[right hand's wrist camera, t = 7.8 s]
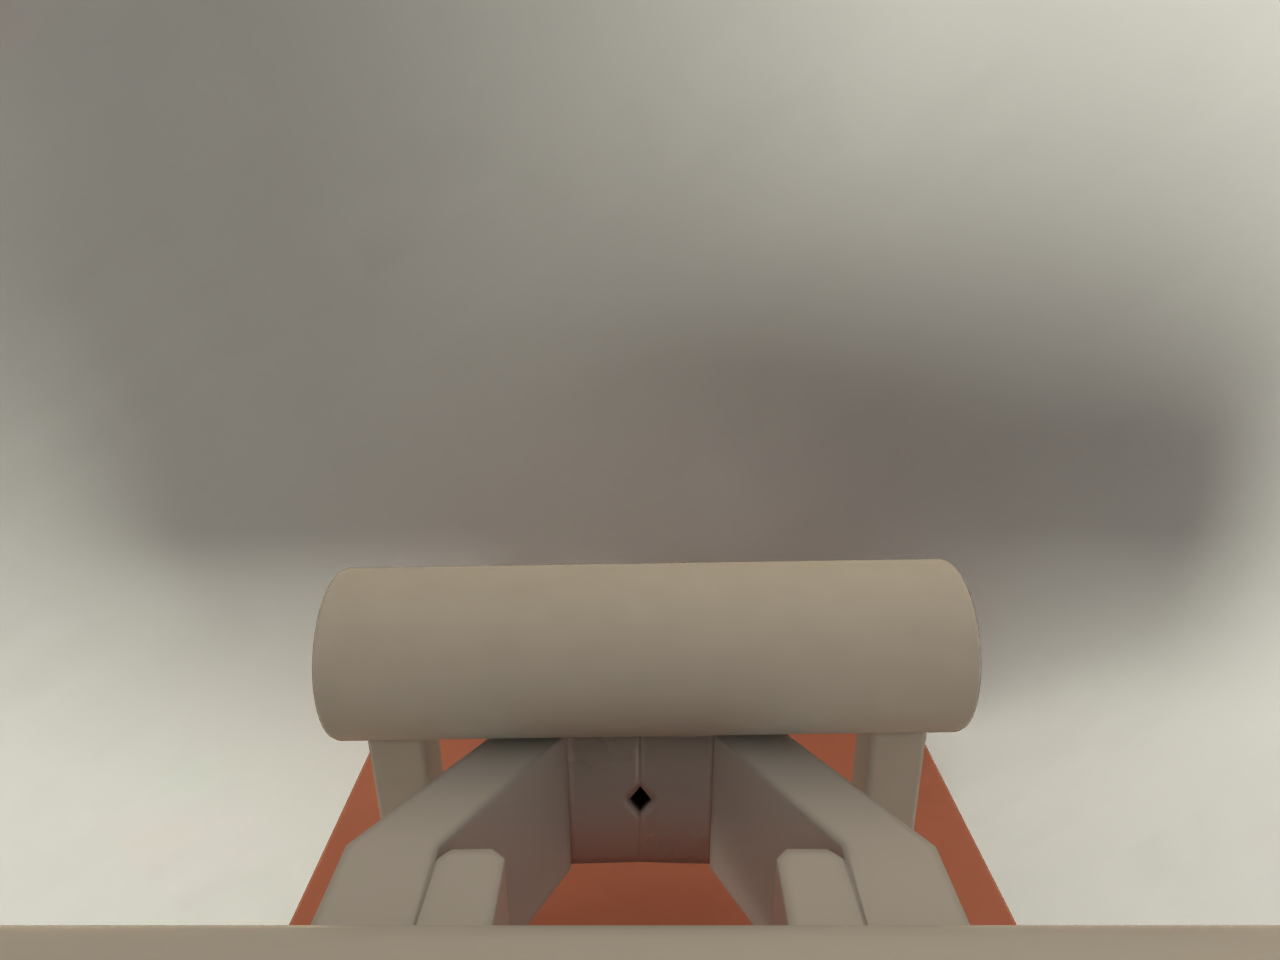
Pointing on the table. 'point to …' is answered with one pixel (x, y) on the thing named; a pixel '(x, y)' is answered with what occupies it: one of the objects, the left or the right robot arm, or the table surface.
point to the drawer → (655, 692)
